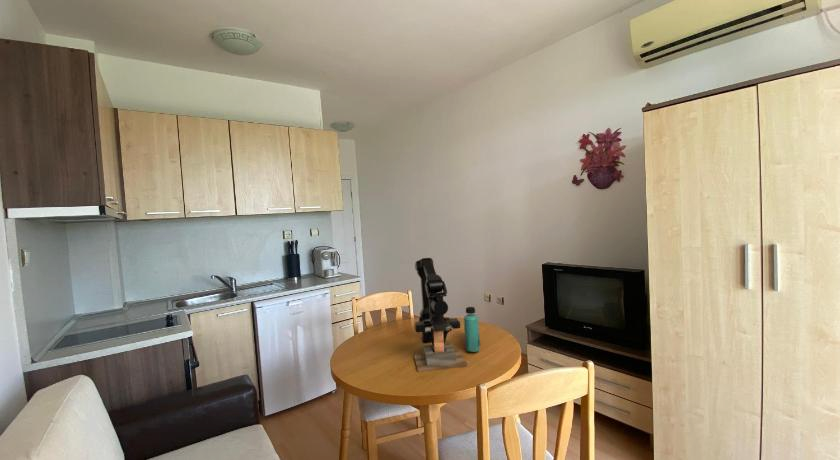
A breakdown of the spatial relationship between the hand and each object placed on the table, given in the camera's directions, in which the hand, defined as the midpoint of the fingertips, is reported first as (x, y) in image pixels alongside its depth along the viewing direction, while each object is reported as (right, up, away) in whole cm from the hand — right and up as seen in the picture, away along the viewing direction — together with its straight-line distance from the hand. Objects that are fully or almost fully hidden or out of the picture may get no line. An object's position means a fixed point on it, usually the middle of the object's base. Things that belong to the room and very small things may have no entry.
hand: (438, 345), depth 148 cm
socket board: (0, -7, 0) cm, 7 cm away
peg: (0, -3, 0) cm, 3 cm away
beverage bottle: (+16, -6, +7) cm, 18 cm away
